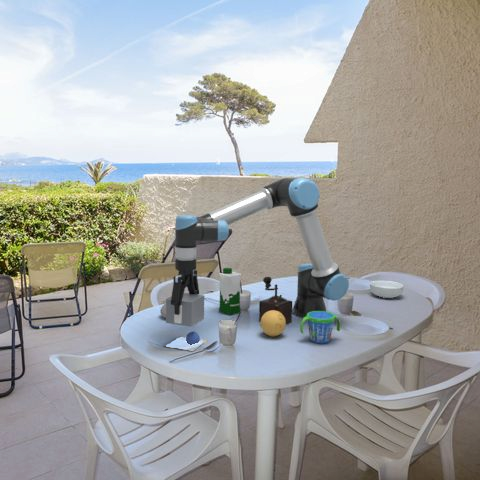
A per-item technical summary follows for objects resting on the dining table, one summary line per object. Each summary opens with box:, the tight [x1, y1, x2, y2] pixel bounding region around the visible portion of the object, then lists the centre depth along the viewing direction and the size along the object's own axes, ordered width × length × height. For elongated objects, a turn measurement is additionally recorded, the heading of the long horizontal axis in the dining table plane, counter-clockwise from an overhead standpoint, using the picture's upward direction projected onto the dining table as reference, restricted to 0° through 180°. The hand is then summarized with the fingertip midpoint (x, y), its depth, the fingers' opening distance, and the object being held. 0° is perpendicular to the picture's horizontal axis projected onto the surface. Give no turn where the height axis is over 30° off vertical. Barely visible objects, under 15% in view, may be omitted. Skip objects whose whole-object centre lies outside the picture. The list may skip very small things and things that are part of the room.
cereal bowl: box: [369, 280, 404, 299], centre depth 234 cm, size 17×17×7 cm
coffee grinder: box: [258, 276, 293, 325], centre depth 191 cm, size 16×11×18 cm
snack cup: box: [299, 311, 342, 344], centre depth 168 cm, size 16×10×10 cm
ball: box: [185, 331, 201, 345], centre depth 161 cm, size 5×5×5 cm
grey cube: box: [165, 292, 205, 328], centre depth 161 cm, size 10×10×9 cm
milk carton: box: [218, 267, 243, 316], centre depth 202 cm, size 9×9×20 cm
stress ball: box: [259, 310, 287, 338], centre depth 172 cm, size 10×10×10 cm
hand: (185, 318), depth 162 cm, fingers closed on grey cube, 10 cm apart
